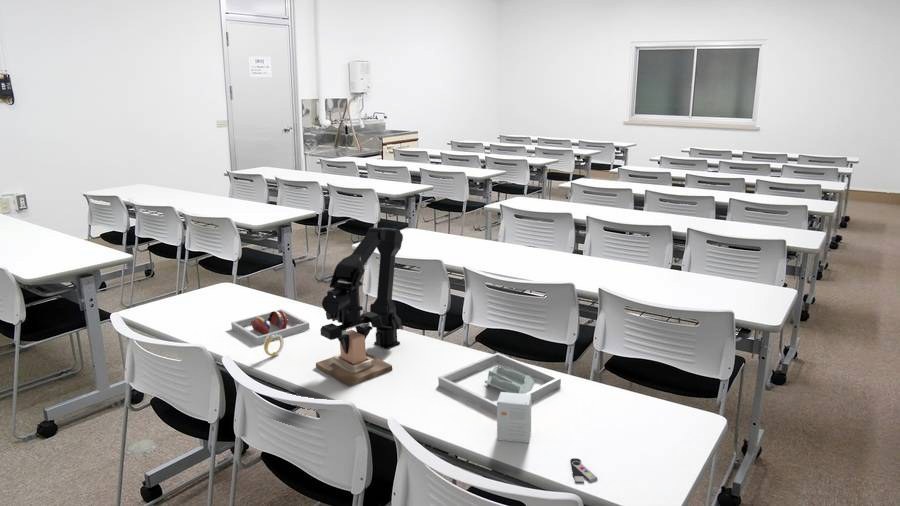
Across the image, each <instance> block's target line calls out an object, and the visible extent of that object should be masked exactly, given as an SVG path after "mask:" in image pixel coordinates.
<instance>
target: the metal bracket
mask: <svg viewBox="0 0 900 506" xmlns="http://www.w3.org/2000/svg"><path fill="white" fill-rule="evenodd" d="M487 375H488V376H487V379H486V380H485V381H484V383H486V384H487V385H486V389H487V388H488V387H489V386H491V387H494V388H497V389H499V390H500V391H502V392H507V393H519V394H526V393H528V392H530V391H532V390H533V386H534V385H535V384H536V381H537V380H536V379H537V378H535V377H532V376H530V375H528V374H526V375H525V374H524V373H522V372H521V373H520V372H519V371H517V370H513V369H506V368H505V367H503V365H502V364H501V365H500V364H499V365H498V366H494V368H493V369H492V370H489V371H488V374H487Z"/></svg>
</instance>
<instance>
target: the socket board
mask: <svg viewBox="0 0 900 506" xmlns="http://www.w3.org/2000/svg"><path fill="white" fill-rule="evenodd" d="M315 368H316V369H318V370H319V371H322V372H323V373H324V374H327V375H328V376H330V377H331V378H334V379H335V380H337V381H338V382H340V383H341V384H343V385H345V386H346V387H352V386H354V385H357V384H359V383H360V384H361V383H362V382H364V381H365V382H366V381H367V380H370V379H372V378H375V377H378V376H380V375H383V374H385V373H388V372H390V371H391V372H392V371H393V365H392V364H390V363H388V362H386V361H384V360H382V359H380V358H378V357H376V356H374V355H373V354H370V353H368V352H366V360H365V361H362V362H359V363H357V364H352V363H350V362H348V361H347V360H345V359H343V358H341V353H340V354H337V355H335V356H331V357H329V358H326V359H324V360H320V361H317V362H315Z"/></svg>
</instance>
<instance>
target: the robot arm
mask: <svg viewBox="0 0 900 506" xmlns="http://www.w3.org/2000/svg"><path fill="white" fill-rule="evenodd" d="M403 238H404V234H403V233H402V232H401V230H400V229H398V228H389V227H373V226H372V227H369V228H368V229H367V231H366V234H365V236H364V237H363V238H362V239H361V241H360V242H359V243H358V245H357V246H356V248H355V249H354V250H353V252H352V253H351V254H350V255H348V256H346V257H344V258H343V259H342V260H340V261H339V262H338V263H337V265H336V266H335V268H334V271H333V274H332V277H331V280H330V284H329V288H332V289H329V290H328V291H326V294H327V295H326V296H324V297H323V299H322V302H321V305H322V309H323V311H324V312H325V317H326V319H327V320H332V322H335V321H337V323H340V325H336V324H334V323H329V324H325V325H322V326H321V328H320V336H322V337H324V338H326V339H328V340H330V341H333V340H336V339H337V340H338V341H339V344H340V343H341V345H342V348H343V350H344V352H345V353H346V354H348V350H349V335H347V334H346V331H349V330H352V329H353V328H355V331H356V332H358V333H360V334H362V335H364V336H365V340H366V339H367V337H368V335H369V333H370V331H371V330H373V328H376V329H375V341H374V342H373V343H374V345H376V346H378V347H380V348H382V349H384V350H387V349H389V348H392V347H396V346H398V345H401V342H400V341H398V332H397V331H398V330H400V329H401V328H400V327H401V326H402V319H401V318H400V317H399V316H398V314H397V306H396V305H395V303H394V301H393V291H394V290H393V288H394V277H395V265H396V263H395V262H396V255H397V254H398V252H400V250H401V248H402V243H403V240H404V239H403ZM376 249H377V251H378V253H379V268H378V282H377V291H376V292H377V293H376V299H375V301H373V303H371V304H370V306H369V310H370V311H367V312H365V313H362V314H361V311H363V306H361V301H360V300H361V299H360V298H361V297H360V287H361V286H363V282H362V281H361V279H362V277H363V275H364V274H365V265H366V263H367V262H368V260H369V259H370V257H372V255H373V253H374V252H375V250H376ZM345 282H346V283H345Z"/></svg>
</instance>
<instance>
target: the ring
mask: <svg viewBox="0 0 900 506" xmlns="http://www.w3.org/2000/svg"><path fill="white" fill-rule="evenodd" d="M272 332H273V331H271V332H269V333H270V334H269V333H268V334H269V335H268V336H267V337H266V339H265V342H264V343H263V351H264V353H265V354H267V355H268V356H270V357H276V356H277V355H279V354H280V353H281V352H282V350H283V348H284V346H285V345H284V337H283V338H282V336H281V335H278V334H277V335H276V333H277V332H275V331H274V332H275V333H272ZM275 337H277V338H278V339H277V340H279V344H280V345H279V348H278V349H277V351H274V352H272V353H270V352H269V351H268V348H269V345H270V343H271V342H272V340H273V338H275ZM269 338H270V339H269ZM268 339H269V340H268ZM273 341H274V340H273Z"/></svg>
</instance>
